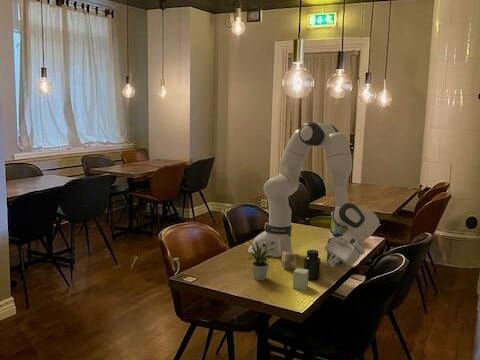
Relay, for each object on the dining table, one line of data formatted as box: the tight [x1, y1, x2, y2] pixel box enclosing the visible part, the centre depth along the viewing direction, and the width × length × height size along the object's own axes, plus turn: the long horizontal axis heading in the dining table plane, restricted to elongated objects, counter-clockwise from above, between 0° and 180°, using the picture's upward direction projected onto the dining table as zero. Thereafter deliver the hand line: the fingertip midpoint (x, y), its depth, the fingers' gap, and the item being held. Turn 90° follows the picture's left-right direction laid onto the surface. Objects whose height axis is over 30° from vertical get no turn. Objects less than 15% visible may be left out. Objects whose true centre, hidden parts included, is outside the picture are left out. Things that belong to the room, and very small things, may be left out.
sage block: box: [292, 267, 309, 291], centre depth 194 cm, size 5×5×7 cm
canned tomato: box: [326, 237, 344, 266], centre depth 227 cm, size 8×8×11 cm
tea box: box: [329, 211, 349, 238], centre depth 268 cm, size 15×10×15 cm, turn 178°
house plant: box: [247, 241, 275, 281], centre depth 203 cm, size 14×14×16 cm
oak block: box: [281, 250, 297, 271], centre depth 218 cm, size 5×5×7 cm
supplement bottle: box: [303, 249, 321, 282], centre depth 205 cm, size 7×7×12 cm
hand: (329, 264), depth 207 cm, fingers closed
